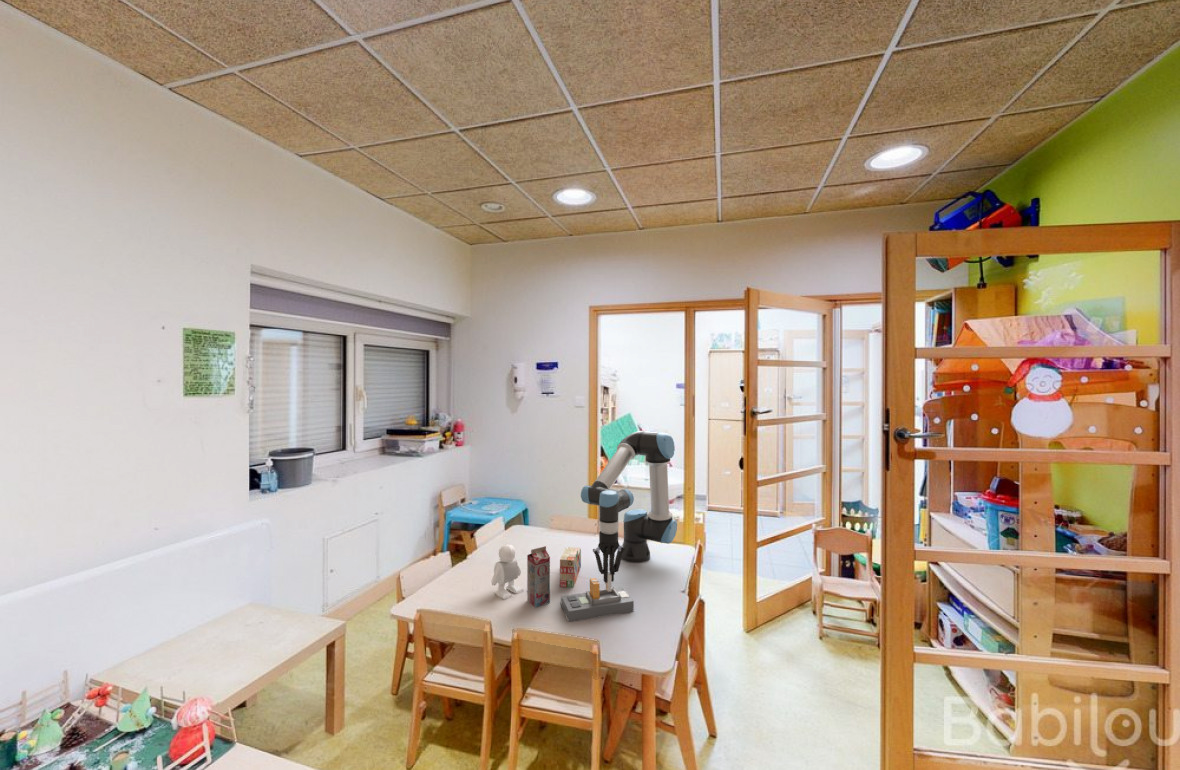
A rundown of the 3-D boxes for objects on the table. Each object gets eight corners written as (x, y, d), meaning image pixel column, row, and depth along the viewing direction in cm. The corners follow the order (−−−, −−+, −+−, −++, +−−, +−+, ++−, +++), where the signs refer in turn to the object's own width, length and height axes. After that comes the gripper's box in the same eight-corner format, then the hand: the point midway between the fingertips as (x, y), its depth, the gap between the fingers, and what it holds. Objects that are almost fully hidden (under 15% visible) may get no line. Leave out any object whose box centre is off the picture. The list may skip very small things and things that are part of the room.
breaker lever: (595, 595, 181) (595, 577, 181) (599, 601, 176) (599, 583, 176) (589, 596, 180) (589, 578, 180) (593, 602, 176) (593, 583, 175)
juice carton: (549, 602, 183) (549, 548, 183) (535, 607, 179) (535, 552, 179) (541, 595, 189) (541, 543, 188) (527, 600, 185) (527, 547, 184)
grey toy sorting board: (622, 596, 188) (622, 583, 188) (633, 611, 177) (633, 597, 177) (561, 605, 181) (561, 592, 180) (568, 621, 169) (568, 607, 169)
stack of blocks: (568, 566, 218) (568, 540, 218) (581, 566, 217) (581, 541, 217) (559, 587, 197) (559, 558, 196) (573, 588, 196) (574, 559, 196)
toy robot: (499, 601, 184) (499, 552, 183) (487, 593, 190) (487, 546, 190) (526, 589, 194) (526, 543, 194) (514, 582, 200) (514, 537, 200)
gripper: (620, 526, 185) (620, 583, 186) (590, 529, 181) (590, 587, 182) (627, 532, 178) (627, 591, 178) (595, 535, 174) (595, 596, 175)
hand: (608, 589), depth 180 cm, fingers closed
